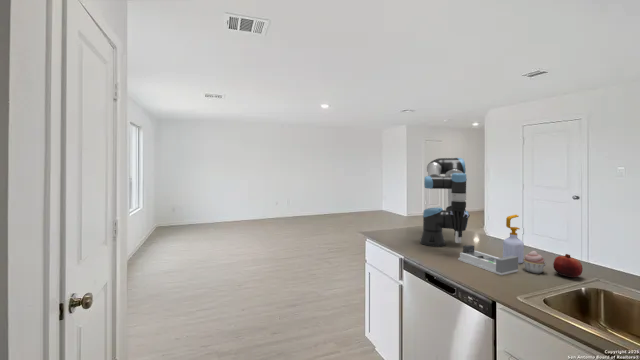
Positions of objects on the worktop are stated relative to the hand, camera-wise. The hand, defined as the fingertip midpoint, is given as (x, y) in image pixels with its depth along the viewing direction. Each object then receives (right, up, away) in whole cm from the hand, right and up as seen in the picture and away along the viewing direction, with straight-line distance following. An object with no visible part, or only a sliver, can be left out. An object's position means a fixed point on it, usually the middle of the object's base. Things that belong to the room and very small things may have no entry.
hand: (458, 242), depth 163 cm
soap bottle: (+25, -8, -9) cm, 28 cm away
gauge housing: (+7, -8, -15) cm, 19 cm away
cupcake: (+25, -9, -24) cm, 36 cm away
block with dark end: (+4, -7, -11) cm, 14 cm away
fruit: (+35, -9, -31) cm, 47 cm away
